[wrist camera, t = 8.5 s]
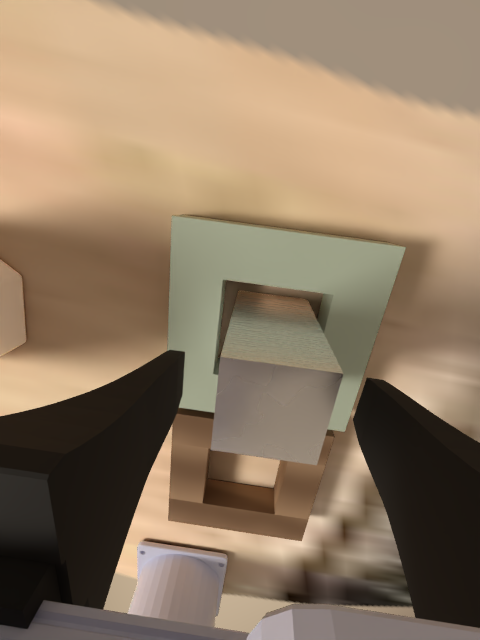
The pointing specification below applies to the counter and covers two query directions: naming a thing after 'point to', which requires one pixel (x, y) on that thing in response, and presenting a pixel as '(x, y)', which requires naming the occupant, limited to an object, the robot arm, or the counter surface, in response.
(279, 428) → the peg
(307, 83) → the counter surface
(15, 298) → the jar
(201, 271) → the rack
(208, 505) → the socket block
